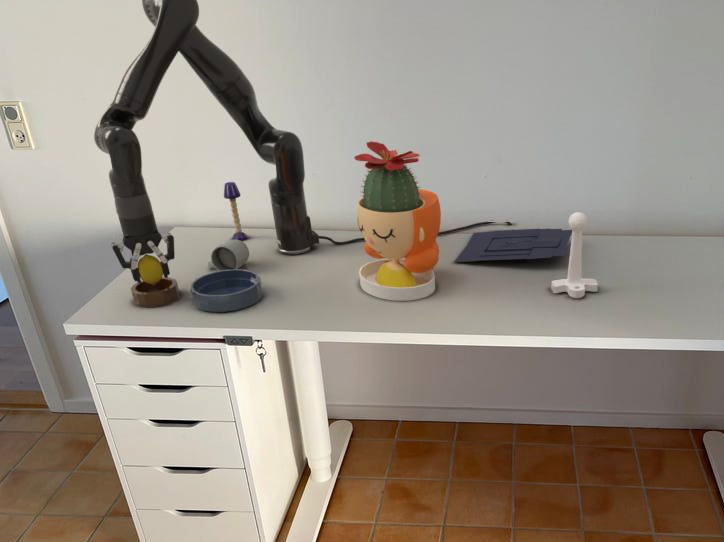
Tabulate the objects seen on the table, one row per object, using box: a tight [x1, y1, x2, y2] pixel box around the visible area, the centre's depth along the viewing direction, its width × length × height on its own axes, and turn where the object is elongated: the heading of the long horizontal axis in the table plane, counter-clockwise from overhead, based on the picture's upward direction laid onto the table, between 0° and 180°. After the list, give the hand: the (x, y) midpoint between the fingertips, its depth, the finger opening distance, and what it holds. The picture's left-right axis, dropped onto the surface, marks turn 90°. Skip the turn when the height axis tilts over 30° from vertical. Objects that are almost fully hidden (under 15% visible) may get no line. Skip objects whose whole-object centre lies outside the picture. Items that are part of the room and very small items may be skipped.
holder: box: [130, 276, 181, 308], centre depth 175 cm, size 10×10×4 cm
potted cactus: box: [354, 140, 442, 302], centre depth 174 cm, size 22×22×35 cm
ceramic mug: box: [207, 238, 250, 271], centre depth 191 cm, size 11×8×8 cm
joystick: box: [550, 211, 599, 299], centre depth 171 cm, size 11×8×20 cm
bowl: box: [189, 268, 264, 313], centre depth 174 cm, size 16×16×4 cm
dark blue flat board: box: [453, 228, 572, 263], centre depth 200 cm, size 24×30×4 cm
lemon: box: [136, 254, 164, 285], centre depth 172 cm, size 6×6×8 cm
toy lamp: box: [223, 181, 248, 241], centre depth 209 cm, size 5×5×17 cm
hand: (152, 279), depth 174 cm, fingers closed on lemon, 5 cm apart
